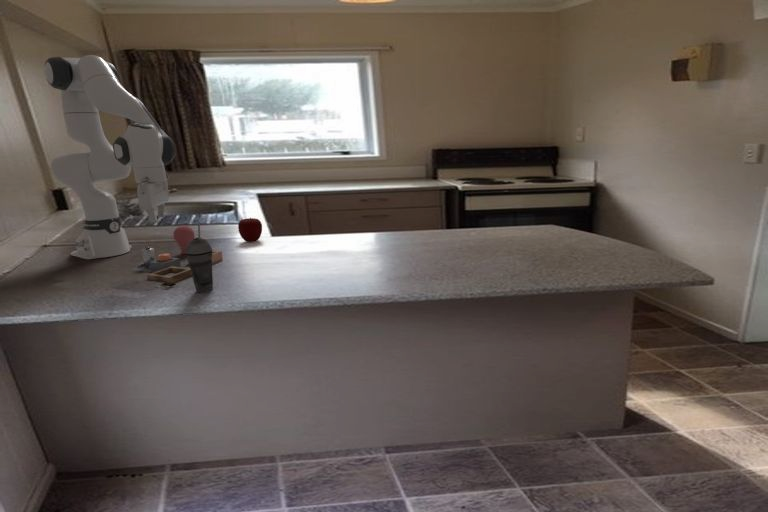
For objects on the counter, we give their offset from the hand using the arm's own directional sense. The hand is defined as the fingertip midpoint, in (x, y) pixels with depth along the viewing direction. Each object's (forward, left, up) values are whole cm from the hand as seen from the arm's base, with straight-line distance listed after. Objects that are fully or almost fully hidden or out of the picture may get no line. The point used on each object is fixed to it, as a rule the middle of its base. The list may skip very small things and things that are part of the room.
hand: (157, 219), depth 148 cm
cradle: (-4, 0, -18) cm, 18 cm away
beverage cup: (+26, -10, -18) cm, 34 cm away
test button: (0, 0, -14) cm, 14 cm away
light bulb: (-9, +17, -18) cm, 26 cm away
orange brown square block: (+7, +10, -18) cm, 22 cm away
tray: (+9, -6, -18) cm, 21 cm away
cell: (-7, 0, -16) cm, 18 cm away
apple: (-1, +44, -18) cm, 48 cm away
